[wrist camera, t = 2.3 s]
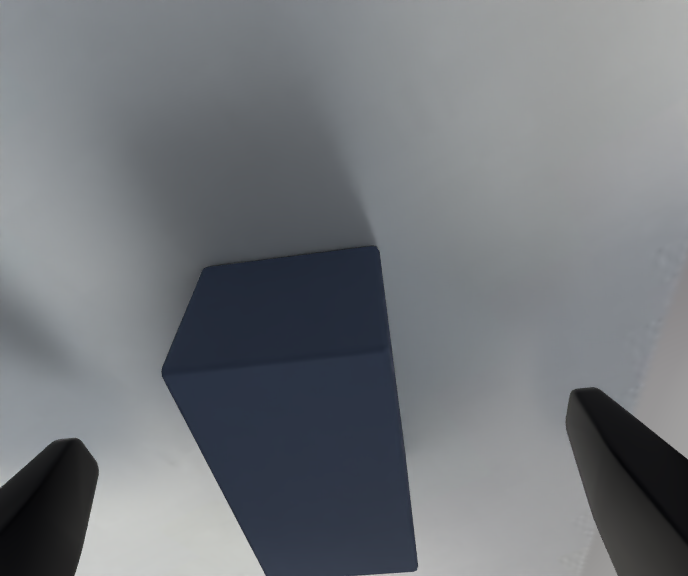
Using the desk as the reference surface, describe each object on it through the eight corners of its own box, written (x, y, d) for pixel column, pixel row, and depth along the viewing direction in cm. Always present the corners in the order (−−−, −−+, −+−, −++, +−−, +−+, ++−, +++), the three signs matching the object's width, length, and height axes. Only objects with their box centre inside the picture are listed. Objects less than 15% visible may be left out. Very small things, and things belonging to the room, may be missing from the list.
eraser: (405, 461, 12) (419, 573, 10) (280, 472, 12) (268, 583, 10) (378, 242, 8) (389, 347, 6) (201, 265, 8) (156, 372, 6)
